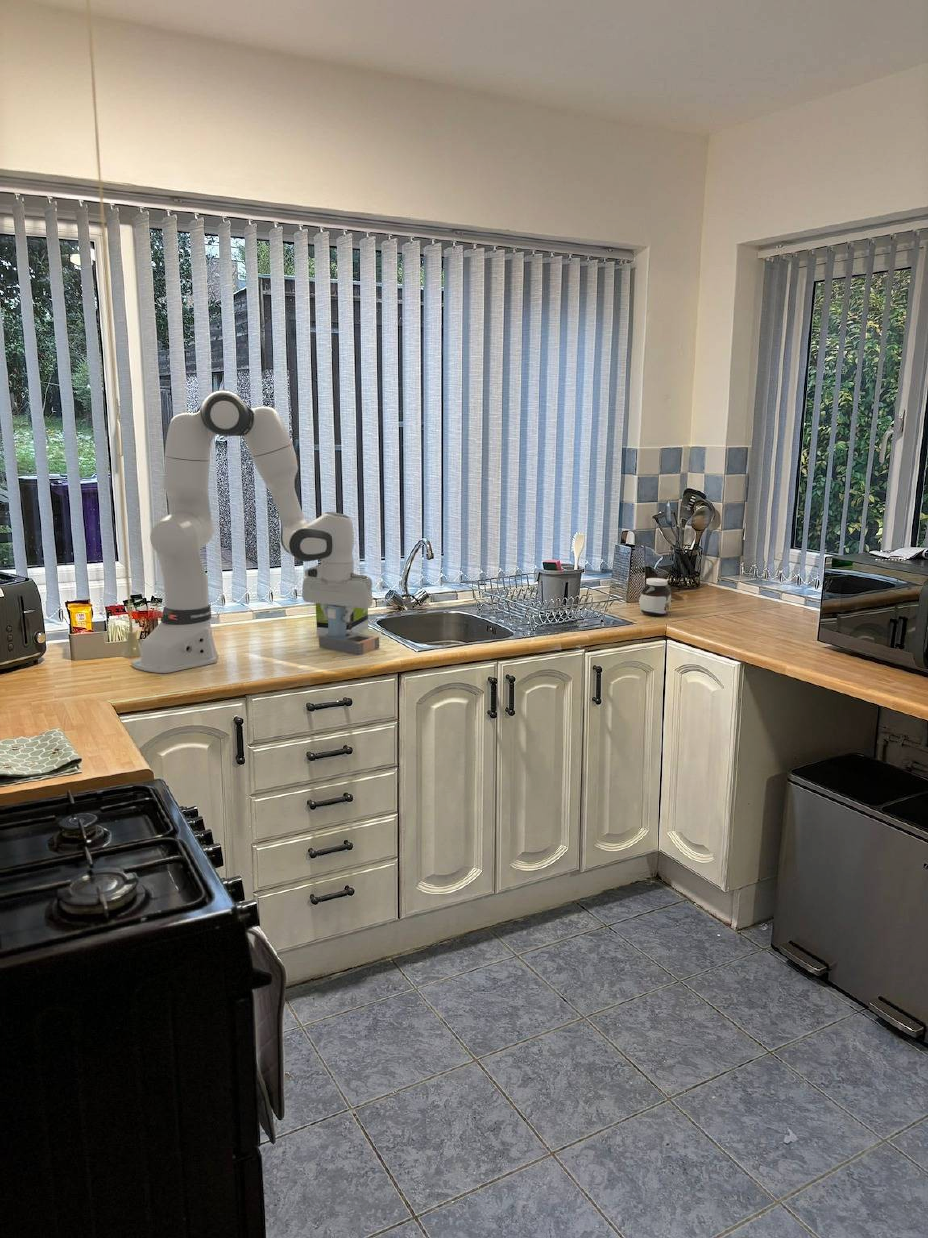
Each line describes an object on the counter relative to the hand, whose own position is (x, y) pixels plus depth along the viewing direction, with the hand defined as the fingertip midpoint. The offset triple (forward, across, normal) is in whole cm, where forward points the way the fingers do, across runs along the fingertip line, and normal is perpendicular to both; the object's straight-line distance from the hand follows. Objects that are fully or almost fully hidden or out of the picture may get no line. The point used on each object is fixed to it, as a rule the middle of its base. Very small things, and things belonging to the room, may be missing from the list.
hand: (337, 620), depth 258 cm
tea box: (+8, +6, -15) cm, 18 cm away
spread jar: (+6, -74, -82) cm, 111 cm away
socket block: (+8, -4, +1) cm, 9 cm away
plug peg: (+5, 0, 0) cm, 5 cm away
